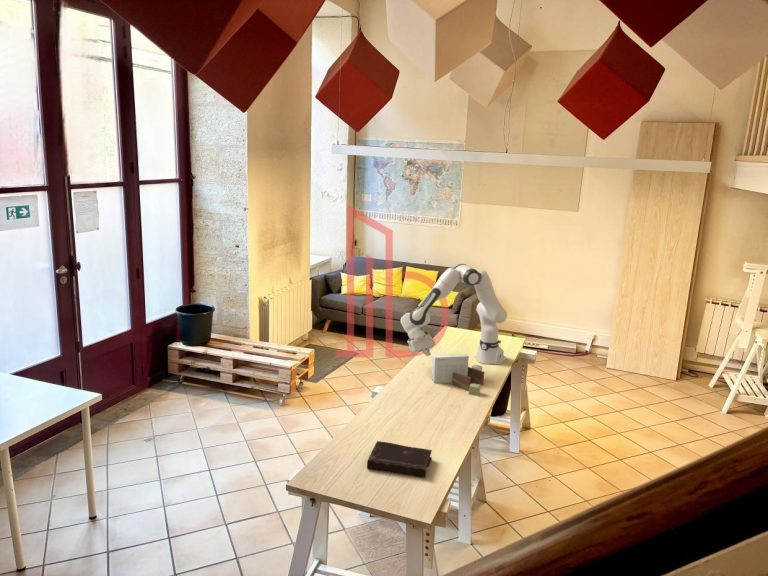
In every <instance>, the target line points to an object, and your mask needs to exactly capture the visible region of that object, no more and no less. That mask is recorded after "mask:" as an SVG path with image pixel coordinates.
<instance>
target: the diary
mask: <svg viewBox="0 0 768 576" xmlns="http://www.w3.org/2000/svg"><path fill="white" fill-rule="evenodd" d="M432 452H433V450H432V449H427V448H421V447H414V446H406V445H401V444H398V443H392V442H388V441H387V442H386V441H381V440H380V441H378V440H377V441H376V442H375V444H374V447H373V449H372V450H371V452H370V455H369V457H368V459H367V463H366V469H367V470H375V471H380V472H387V473H391V474H392V473H393V474H398V475H404V476H410V477H411V476H413V477H418V478H424V479H426V476H427V475H426V474H427V468H429V467H430V464H431V461H432V455H431V454H432Z"/></svg>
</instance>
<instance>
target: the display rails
mask: <svg viewBox="0 0 768 576" xmlns="http://www.w3.org/2000/svg"><path fill="white" fill-rule="evenodd" d="M484 380H485V371H483V370H482V371H480V370H477V369H474V368H472V366H471V367H470V366H468V376H465V375H461V374H458V373H455V372H453V375H452V382H451V386H453V387H456V388H458V389H461V390H463V391H467V392H469V386H470V385H471V383H473V384H479V385H480V386H483V385H484V382H485V381H484Z"/></svg>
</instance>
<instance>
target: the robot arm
mask: <svg viewBox="0 0 768 576" xmlns="http://www.w3.org/2000/svg"><path fill="white" fill-rule="evenodd" d="M459 283H462V284H466V285H467V286H473V287H474V290H475V293H476V296H477V299H478V301H479V302H478V304H477V305H476V313H477V314H478V317H479V321H480V330H481V332H480V339H479V346H477V352H476V355H475V356H474V358H475V359H476V362H478V363H480V364H481V363H482V364H485V365H501V364H502V363H504V362H505V361H507V360H508V356H505V355H504V354H505V352H504V350H503V348H501V346H500V344H501V343H502V340H501V339H500V340H499V327H498V325H497V324H502V323H504V322H505V321H506V320H507V319H508V312H507V310H506V309H505V308H504V307H503V306H502V304H501V302H500V300H499V299H498V297H497V295H496V292H495V290H494V286H493V284H492V280H491V278H490V276H489V274H488V273H487V271H486V270H484V269H475V268H474V267H472V266H470V265H468V264H464V263H460V264H457V265H456V266H455V267H449V268H447V269H446V270H445V271H444V272H443V273H442V274H441V275H440V277H439V278H438V280H437V281H436V283H434V285H433V287H432V288H431V289H430V291H429V293H428V294H427V295H426V297H425V298H424V299H423V300H422V302H421V303H420V304H419V305H418V306H417V307H416V308H414V309H413V310H411V311H410V312H406V313H404V314H403V315H402V316H401V318H400V324H401V326H402V328H403V330H404V331H405V332H406V333H407V336H408V338H409V339H407V344H408V346H409V349H410V351H411V353H412V354H417V353H419V352H422V354H424V355H425V357H430V356H431V355H432V353H431V352H430V349H431V348H433V347H434V346H436V342H435V339H434V338H433V337H432V335H430V332H429V331H428V330H422V329H421V328H423V327H425V326H427V325H429V324H430V322H431V315H430V314H429V311H430V309H431V308H432V307H433V305H434V304H436V302H437V301H439V300H441V299H446V298H447V297H448V296H449V295H450V294H451V293H452V292H453V290H454V288H455V287H456V286H457V284H459Z"/></svg>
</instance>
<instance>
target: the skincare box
mask: <svg viewBox="0 0 768 576" xmlns="http://www.w3.org/2000/svg"><path fill="white" fill-rule="evenodd" d="M469 358H470V356H469V355H468V354H466V353H464V354H463V353H461V354H459V353H457V354H456V353H455V354H434V355H432V371H431V372H432V373H431V381H432V382H433V384H445V383H446V384H447V383H452V375H453V372H455V373H458V374H461V375H465V376H468V367H469Z"/></svg>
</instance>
